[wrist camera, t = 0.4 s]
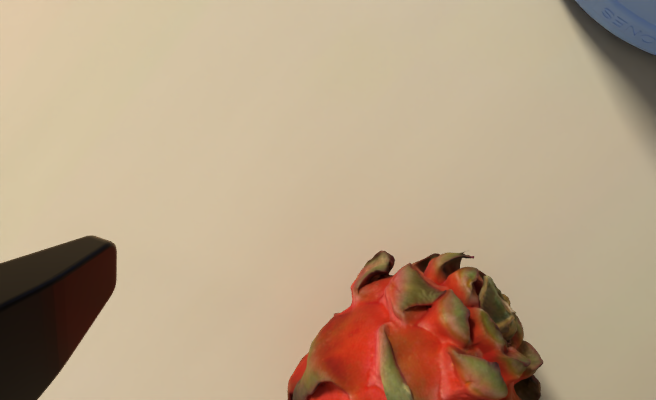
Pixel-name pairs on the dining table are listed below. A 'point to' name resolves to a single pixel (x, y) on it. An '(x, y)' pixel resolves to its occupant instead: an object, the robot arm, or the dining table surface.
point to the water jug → (626, 20)
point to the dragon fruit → (420, 339)
